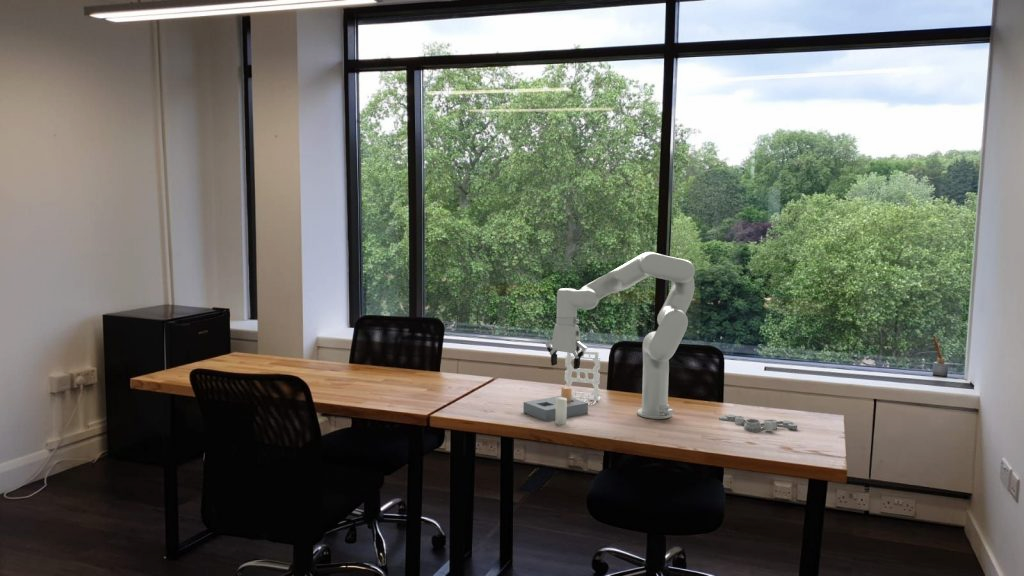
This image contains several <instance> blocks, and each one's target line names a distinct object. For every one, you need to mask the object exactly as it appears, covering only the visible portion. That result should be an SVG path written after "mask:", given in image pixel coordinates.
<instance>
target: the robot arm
mask: <svg viewBox="0 0 1024 576" xmlns="http://www.w3.org/2000/svg"><path fill="white" fill-rule="evenodd" d="M695 273H696V268H695V266H694V265H693V263H692V262H691V261H689V260H688V259H684V258H679V257H678V258H677V257H675V256H674V257H673V256H668V255H665V254H661V253H656V252H653V251H646V252H643V253H640V254H639V255H637V256H636V257H634V258H632V259H629V261H627V262H625V263H624V264H622V265H620V266H618V267H617V268H615V269H613V270H611V271H609V272H608V273H606V274H604V275H602V276H600V277H598V278H596V279H594V280H593V281H591V282H589V283H587V284H585V285H584V286H582V287H581V288H579V290H577V289H576V288H571V287H570V288H567V287H565V288H559V289H558V290H557V294H556V322H555V323H556V324H554V328H553V332H552V339H550V340H548V341H546V342H545V346H546V350H547V351H548V353H549V355H550V363H551V366H552V367H553V366H556V365H557V364H558V352H562V353H563V352H564V353H567V352H569V353H571V354H572V356H575V358H573V368H574V369H577V368H580V366H581V359H582V358H581V357H582V356H583V355H584V356H585V355H586V354H585V351H586V352H587V349H588V348H587V346H586V345H584V344H583V343H582V342H581V332H580V328H579V327H580V326H579V325H578V324H580V319H578V309H581V310H593V309H595V308H596V307H597V306H598V304H599V302H600V300H601V299H603V298H605V297H607V296H609V295H611V294H613V293H617V292H622V291H625V290H628V289H629V288H631V287H633V286H634V285H636V284H637V283H639V282H641V281H642V280H645V279H646V278H648V277H653V278H656V279H662V280H666V281H670V283H671V286H670V291H669V293H668V295H667V297H666V299H665V301H664V302H663V305H662V307H661V309H660V310H659V313H658V314H657V319H656V321H657V324H658V327H657V329H656V330H654V331H651V332H649V333H647V334H646V335H645V337H644V338H643V341H642V388H641V389H642V394H641V408H639V409H637V415H638V416H640V417H642V418H646V419H654V420H663V419H668V418H671V417H672V416H673V414H675V410H674V409H671V408H670V407H671V405H670V404H668V403H669V401H668V400H669V373H670V361H669V360H670V359H671V358H672V357H673V356H674V354H675V353H676V351H677V349H678V347H679V345H680V343H681V342H682V339H683V337H684V335H685V333H686V331H687V328H688V324H689V321H688V320H689V319H688V316H687V315H686V313H687V311H688V309H689V308H690V304H691V303H692V299H693V297H694V295H695V288H696V287H695ZM579 351H581V352H579Z"/></svg>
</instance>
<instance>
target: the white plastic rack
mask: <svg viewBox="0 0 1024 576" xmlns="http://www.w3.org/2000/svg"><path fill="white" fill-rule="evenodd" d="M579 352H581V350H580V351H579ZM599 354H600V353H599V352H598V351H597V352H596V351H587V350H586V351H585V354H584V355H583V356H582V357H581V358H580V359H586V360H587V359H588V360H592V361H593V363H594V366H593V367H592V368H580V367H579V368H577V369H574V366H573V365H572V362H573V360H574V358H575V356H574V355H572V353H569V352H566V355H565V356H564V357H565V358H564V367H566V370H564V382H566V384H564V387H571V388H572V384H573V382H574V383H584V384H585V383H586V384H592V386H593V388H594V389H593V391H591V392H592V393H591V392H589V393H587V392H580V391H572V398H574V399H578V400H584V402H585V401H586V400H596V401H597V402H600V400H601V399H602V398H601V396H600V387H599V385H600V381H601V379H600V377H601V373H600V372H599V370H601V358H600V357H599ZM585 355H588V357H587V356H585ZM591 355H594V357H591ZM572 372H573V373H576V377H573V376H572ZM581 373H583V374H584V378H581V376H580V375H581ZM589 374H592V375H593V377H592V379H591V378H590V379H589ZM577 395H580V396H577ZM584 395H587V396H586V397H585V396H584ZM590 396H593V397H590ZM596 401H595V402H596ZM595 402H594V403H595ZM597 402H596V403H597ZM594 403H593V405H592V404H591V405H590V406H594V405H595V404H596V403H595V404H594Z"/></svg>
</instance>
